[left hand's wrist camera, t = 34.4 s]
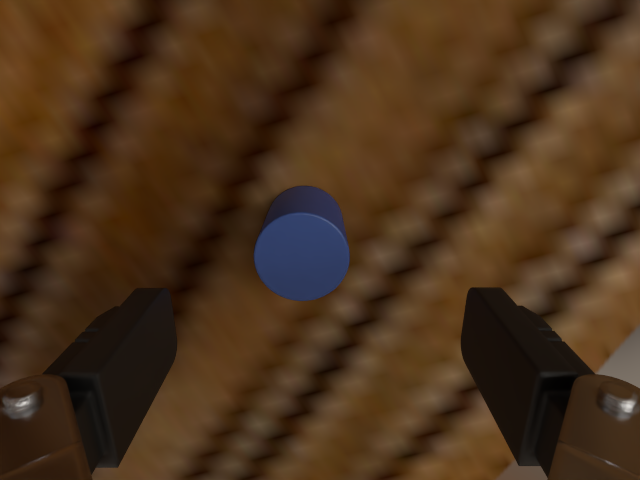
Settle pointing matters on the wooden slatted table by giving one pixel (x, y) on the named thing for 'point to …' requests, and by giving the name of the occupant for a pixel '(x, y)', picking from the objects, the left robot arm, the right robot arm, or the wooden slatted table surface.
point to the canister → (302, 245)
